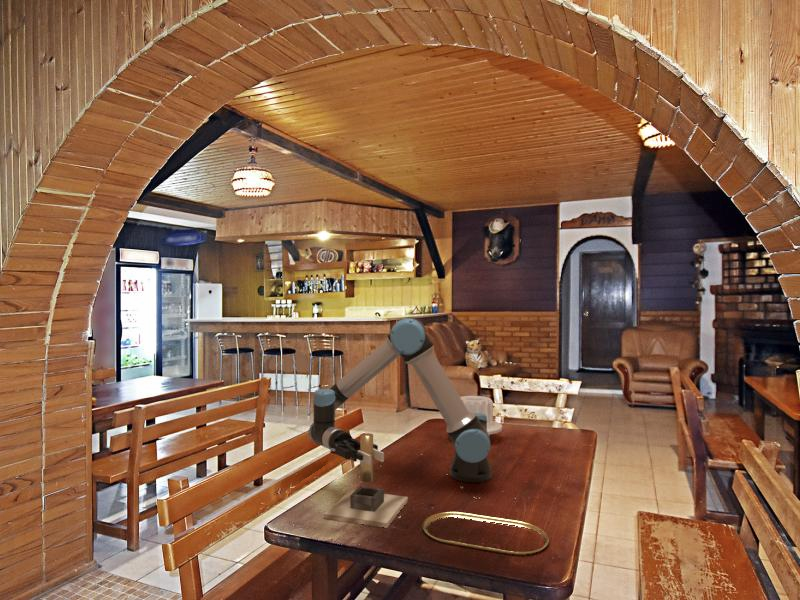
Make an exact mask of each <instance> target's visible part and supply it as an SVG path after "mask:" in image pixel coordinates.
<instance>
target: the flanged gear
mask: <svg viewBox="0 0 800 600" xmlns="http://www.w3.org/2000/svg"><path fill="white" fill-rule="evenodd" d="M459 397H460V398H461V400H462V402H463V403H464V405H465V406H466V408H467V410H468V411H469V412H470V413H482V414H485V415H486V417H487V433H488V437H489V438H490V435H493V434H494V435H496V434H499V433H500V432H502V431H503V425H502V424H501V423H500V422H498V421H495V420H494V402H493V400H492V398H490V397H487V396H484V395H483V396H482V395H465V396H463V395H462V396H459Z"/></svg>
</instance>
